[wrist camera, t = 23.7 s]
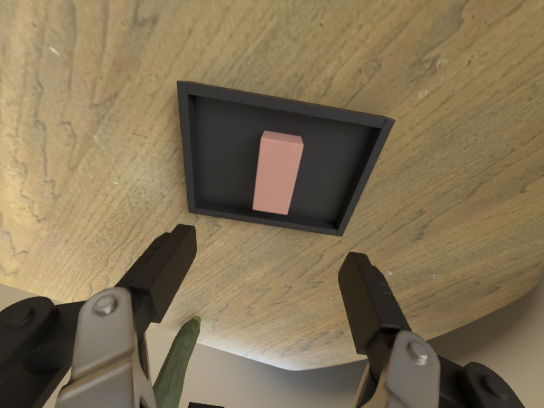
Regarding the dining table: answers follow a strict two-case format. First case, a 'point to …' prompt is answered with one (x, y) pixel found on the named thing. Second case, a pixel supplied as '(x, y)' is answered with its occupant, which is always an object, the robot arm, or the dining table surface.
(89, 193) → the dining table surface
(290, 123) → the tray
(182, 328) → the vegetable
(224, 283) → the dining table surface
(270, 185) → the eraser
